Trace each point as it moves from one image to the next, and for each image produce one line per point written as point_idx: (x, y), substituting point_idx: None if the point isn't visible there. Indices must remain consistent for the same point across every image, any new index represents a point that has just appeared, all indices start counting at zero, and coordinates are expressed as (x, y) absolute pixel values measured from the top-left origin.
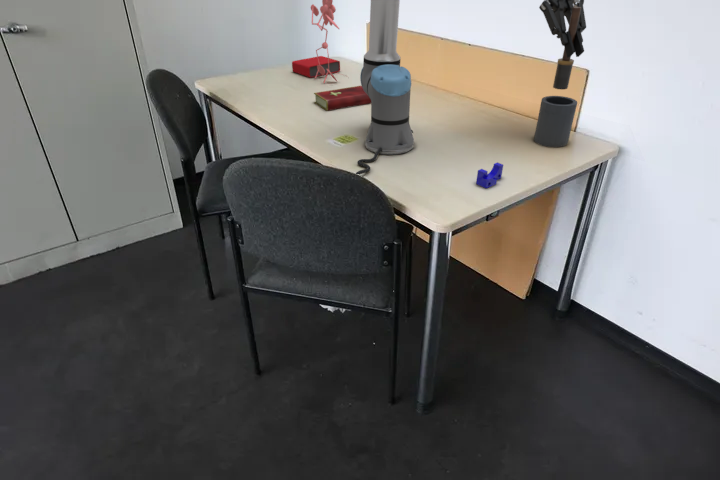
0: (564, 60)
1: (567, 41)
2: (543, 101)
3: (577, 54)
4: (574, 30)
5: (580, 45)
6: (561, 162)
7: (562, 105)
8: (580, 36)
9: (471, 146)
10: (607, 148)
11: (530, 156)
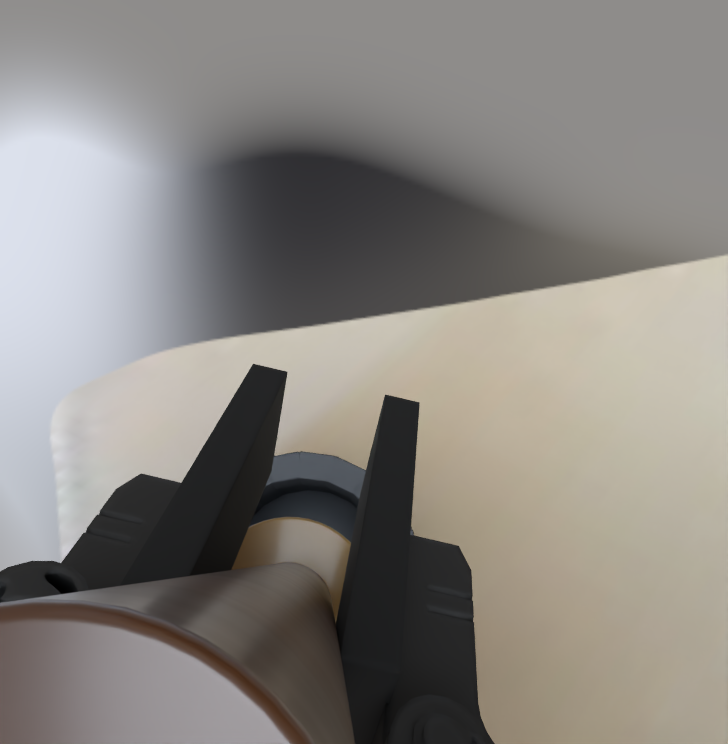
0: (329, 591)
1: (416, 549)
2: None
3: (270, 457)
4: (274, 571)
5: (264, 415)
6: (445, 358)
7: (362, 478)
8: (113, 546)
9: (715, 700)
10: (146, 374)
11: (522, 464)
